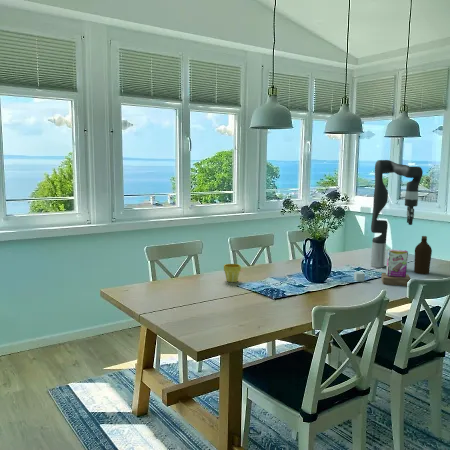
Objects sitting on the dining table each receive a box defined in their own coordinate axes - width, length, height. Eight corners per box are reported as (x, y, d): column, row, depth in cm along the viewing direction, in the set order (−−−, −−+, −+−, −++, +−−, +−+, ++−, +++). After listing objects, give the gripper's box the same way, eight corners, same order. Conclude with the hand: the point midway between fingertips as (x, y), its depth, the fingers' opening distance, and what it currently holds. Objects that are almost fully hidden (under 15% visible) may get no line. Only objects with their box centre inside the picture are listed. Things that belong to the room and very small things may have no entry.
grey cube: (353, 279, 296) (354, 271, 295) (361, 279, 296) (362, 271, 295) (356, 281, 291) (356, 273, 290) (364, 281, 291) (364, 273, 290)
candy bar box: (387, 276, 288) (389, 250, 285) (385, 274, 293) (387, 249, 290) (406, 277, 287) (408, 251, 284) (404, 275, 291) (406, 249, 289)
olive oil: (425, 275, 310) (428, 238, 306) (410, 272, 318) (412, 235, 314) (432, 273, 316) (436, 236, 313) (418, 270, 324) (420, 234, 321)
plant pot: (229, 277, 294) (230, 262, 293) (243, 280, 288) (243, 264, 287) (220, 281, 286) (220, 265, 284) (234, 283, 280) (234, 268, 278)
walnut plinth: (381, 278, 299) (381, 272, 298) (407, 280, 295) (408, 274, 294) (383, 284, 285) (383, 277, 285) (410, 286, 282) (411, 280, 281)
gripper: (403, 197, 302) (402, 221, 304) (406, 199, 288) (404, 225, 291) (416, 197, 300) (414, 222, 303) (419, 199, 286) (417, 225, 289)
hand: (409, 223), depth 297 cm, fingers open, 8 cm apart
